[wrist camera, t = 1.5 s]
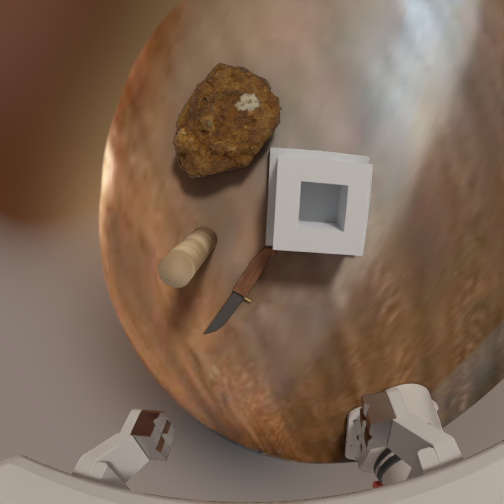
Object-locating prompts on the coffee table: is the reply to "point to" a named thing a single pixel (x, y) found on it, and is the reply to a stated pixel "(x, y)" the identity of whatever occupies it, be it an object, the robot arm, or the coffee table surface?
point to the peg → (187, 257)
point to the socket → (318, 201)
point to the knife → (242, 288)
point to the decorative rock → (225, 121)
